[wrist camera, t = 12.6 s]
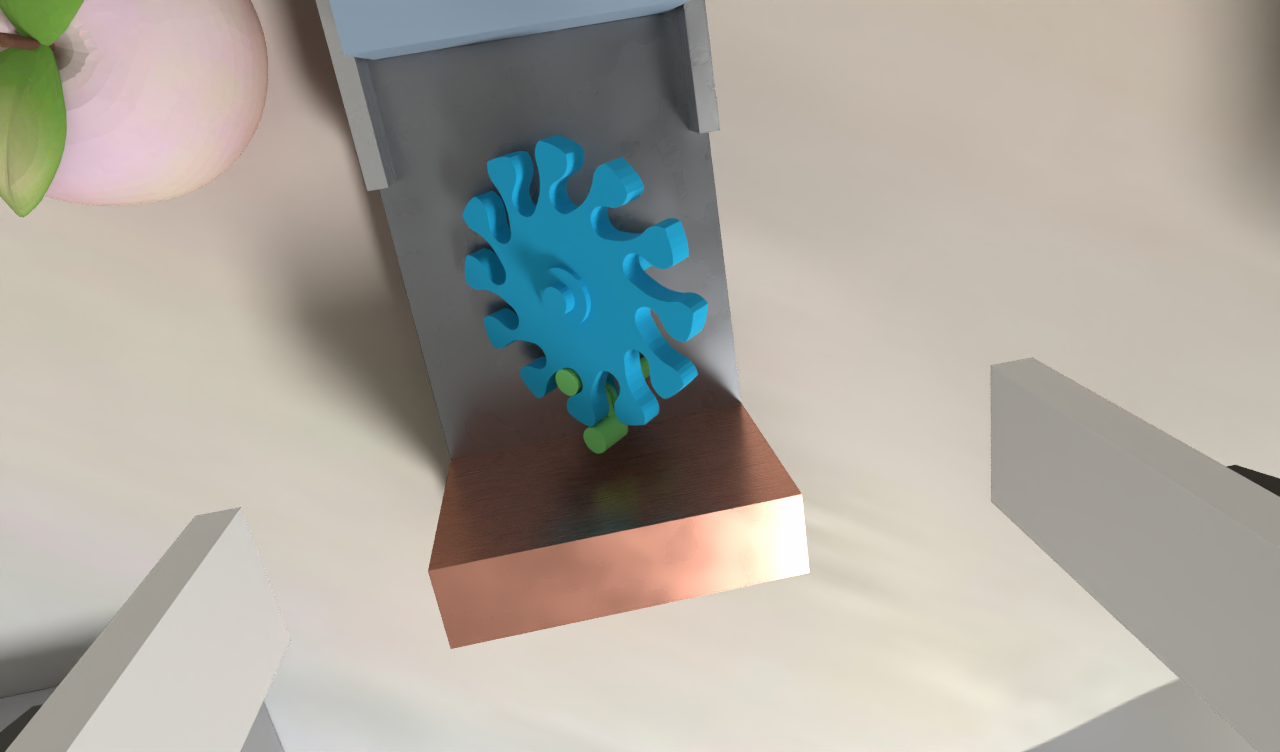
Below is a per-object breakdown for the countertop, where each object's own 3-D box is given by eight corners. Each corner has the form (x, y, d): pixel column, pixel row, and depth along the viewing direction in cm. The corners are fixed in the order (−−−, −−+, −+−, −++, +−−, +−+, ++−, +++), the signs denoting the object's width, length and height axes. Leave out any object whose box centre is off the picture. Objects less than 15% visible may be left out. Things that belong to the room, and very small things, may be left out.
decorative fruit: (300, 206, 31) (201, 261, 21) (60, 172, 29) (-158, 214, 20) (309, -70, 28) (199, -147, 18) (43, -122, 26) (-223, -235, 17)
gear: (424, 133, 27) (673, 162, 21) (546, 100, 31) (782, 117, 25) (478, 419, 32) (689, 501, 27) (576, 359, 36) (777, 419, 31)
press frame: (663, -143, 28) (730, -253, 19) (740, 467, 37) (811, 597, 28) (316, -91, 28) (208, -179, 18) (476, 520, 36) (458, 673, 27)
